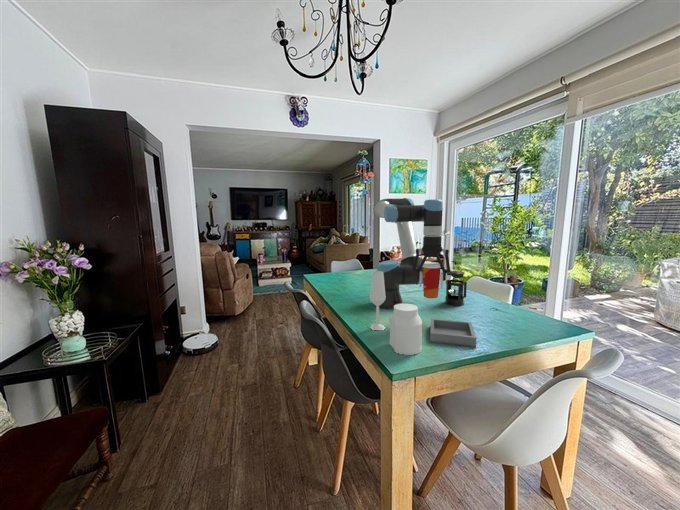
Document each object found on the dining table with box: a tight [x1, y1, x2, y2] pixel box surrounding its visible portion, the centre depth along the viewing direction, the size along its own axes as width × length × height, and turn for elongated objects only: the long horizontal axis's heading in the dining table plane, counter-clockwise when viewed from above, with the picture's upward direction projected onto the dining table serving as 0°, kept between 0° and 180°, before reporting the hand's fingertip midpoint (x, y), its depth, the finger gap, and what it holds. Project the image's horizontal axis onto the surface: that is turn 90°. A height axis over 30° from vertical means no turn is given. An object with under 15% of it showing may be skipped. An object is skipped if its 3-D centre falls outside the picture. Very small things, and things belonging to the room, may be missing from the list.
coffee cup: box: [422, 261, 442, 299], centre depth 121 cm, size 8×8×15 cm
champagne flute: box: [369, 270, 386, 331], centre depth 115 cm, size 7×7×24 cm
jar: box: [389, 302, 423, 356], centre depth 97 cm, size 12×10×15 cm
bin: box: [429, 318, 477, 348], centre depth 106 cm, size 15×15×4 cm
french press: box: [444, 260, 467, 307], centre depth 145 cm, size 12×9×23 cm
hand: (430, 286), depth 122 cm, fingers closed on coffee cup, 8 cm apart
